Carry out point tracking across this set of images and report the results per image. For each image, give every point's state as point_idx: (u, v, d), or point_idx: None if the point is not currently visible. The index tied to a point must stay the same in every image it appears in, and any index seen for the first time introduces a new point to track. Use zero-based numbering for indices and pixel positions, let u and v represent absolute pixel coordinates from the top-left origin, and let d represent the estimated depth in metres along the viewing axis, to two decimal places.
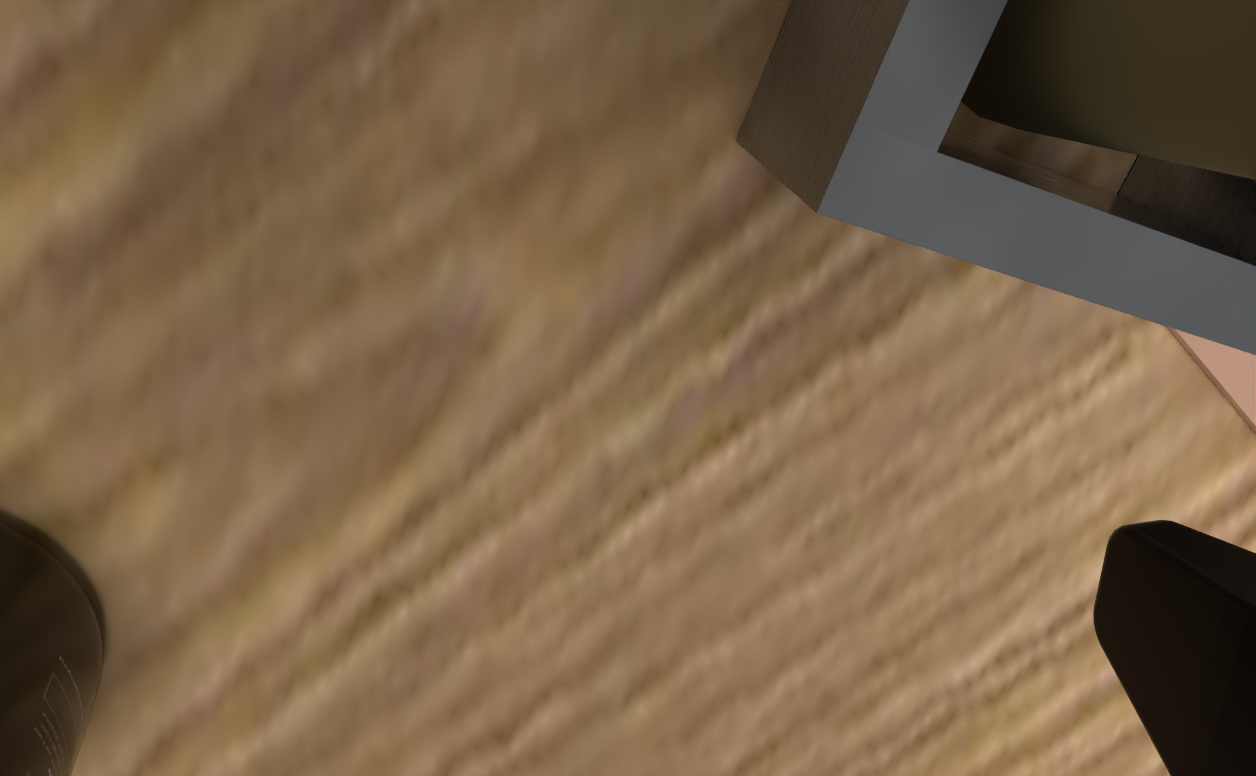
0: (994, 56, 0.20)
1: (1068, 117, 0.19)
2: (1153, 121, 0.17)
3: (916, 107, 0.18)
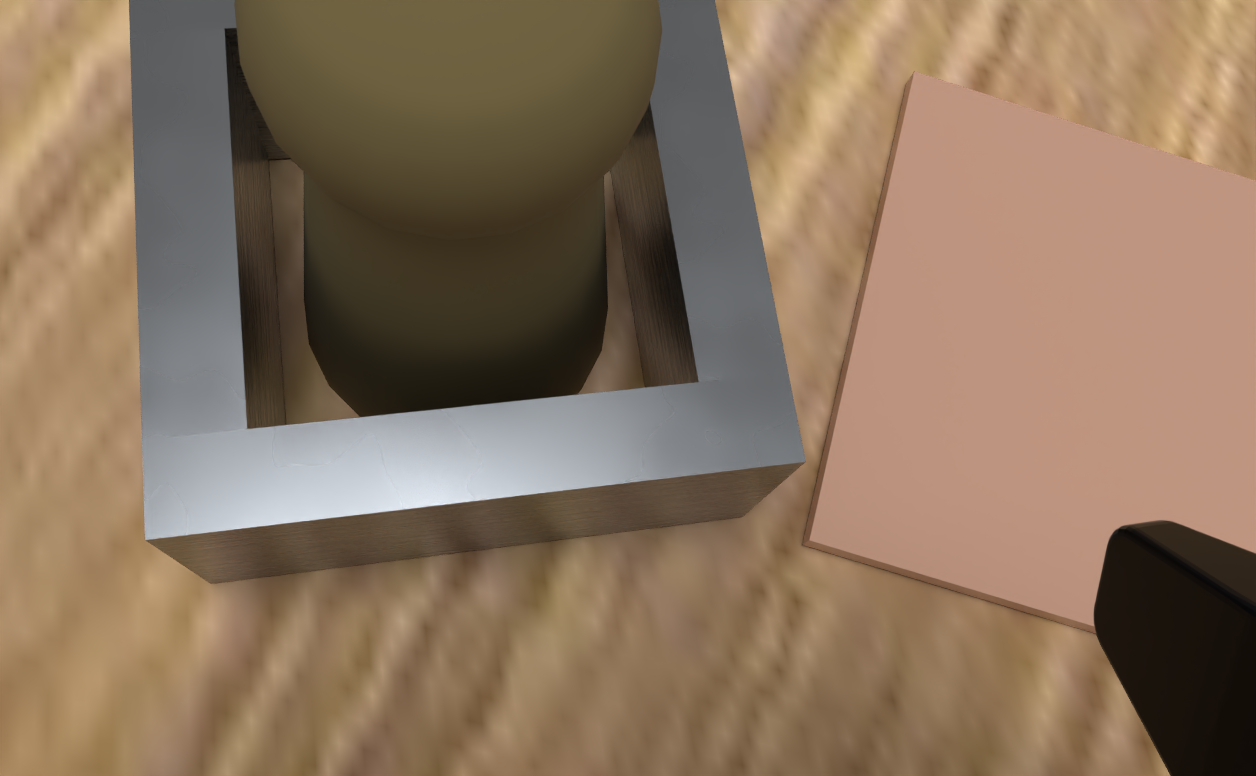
0: (355, 364, 0.20)
1: (412, 358, 0.19)
2: (389, 281, 0.17)
3: (199, 401, 0.17)
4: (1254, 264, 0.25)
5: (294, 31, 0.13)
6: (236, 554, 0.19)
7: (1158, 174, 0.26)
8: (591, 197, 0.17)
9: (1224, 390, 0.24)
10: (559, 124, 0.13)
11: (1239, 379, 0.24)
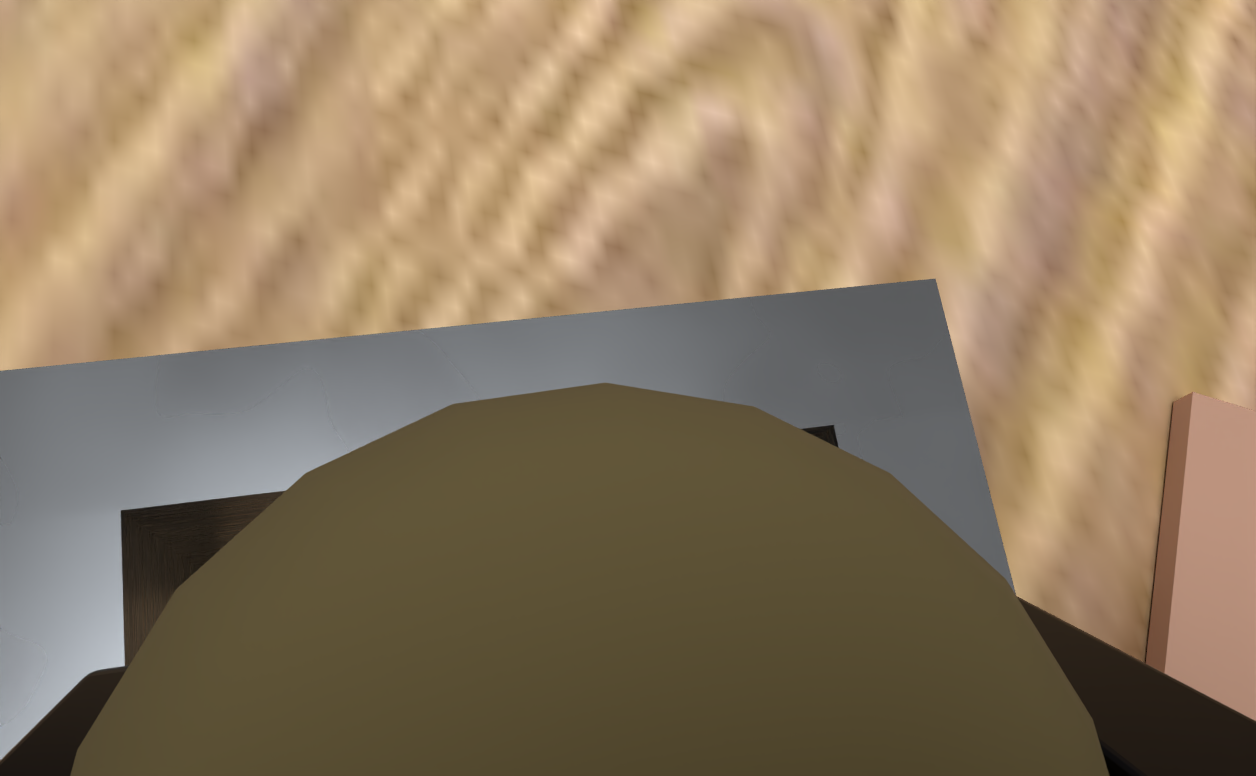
0: None
1: None
2: None
3: None
4: None
5: None
6: None
7: None
8: None
9: None
10: None
11: None
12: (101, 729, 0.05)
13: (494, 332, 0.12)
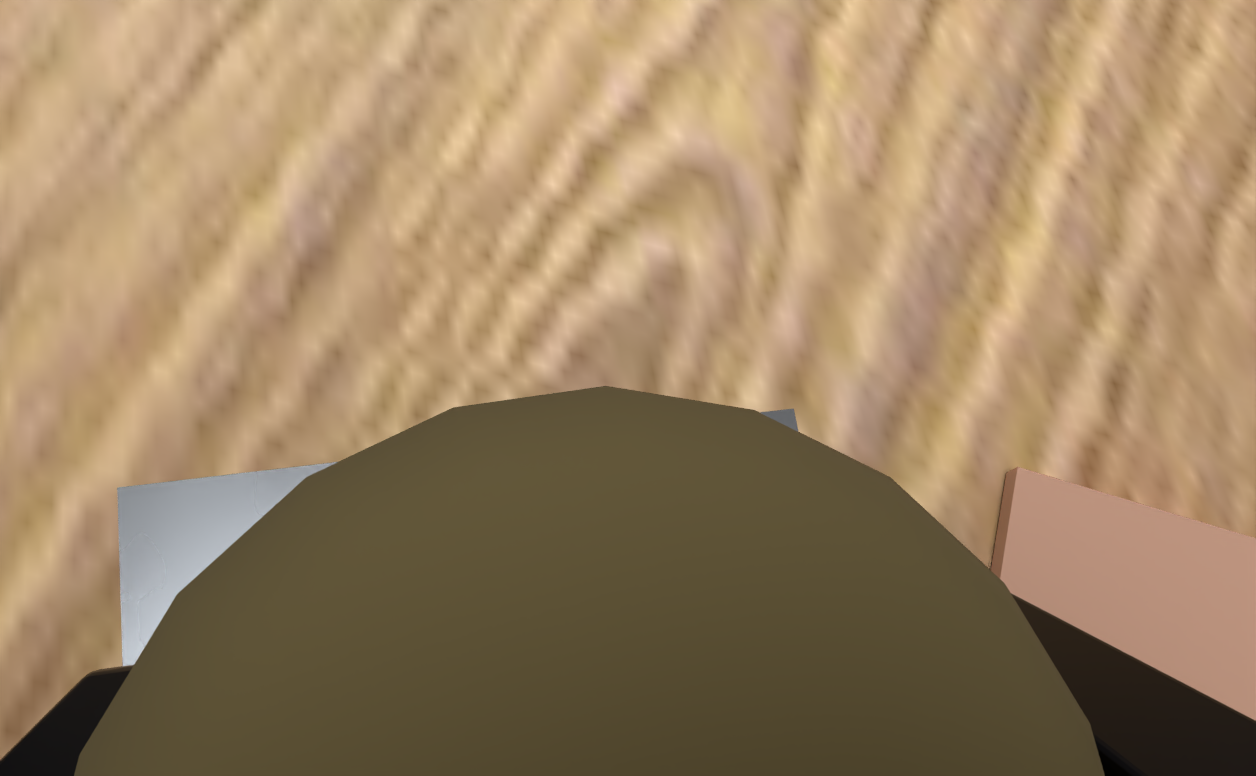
0: None
1: None
2: None
3: None
4: None
5: None
6: None
7: None
8: None
9: None
10: None
11: None
12: (103, 735, 0.05)
13: None
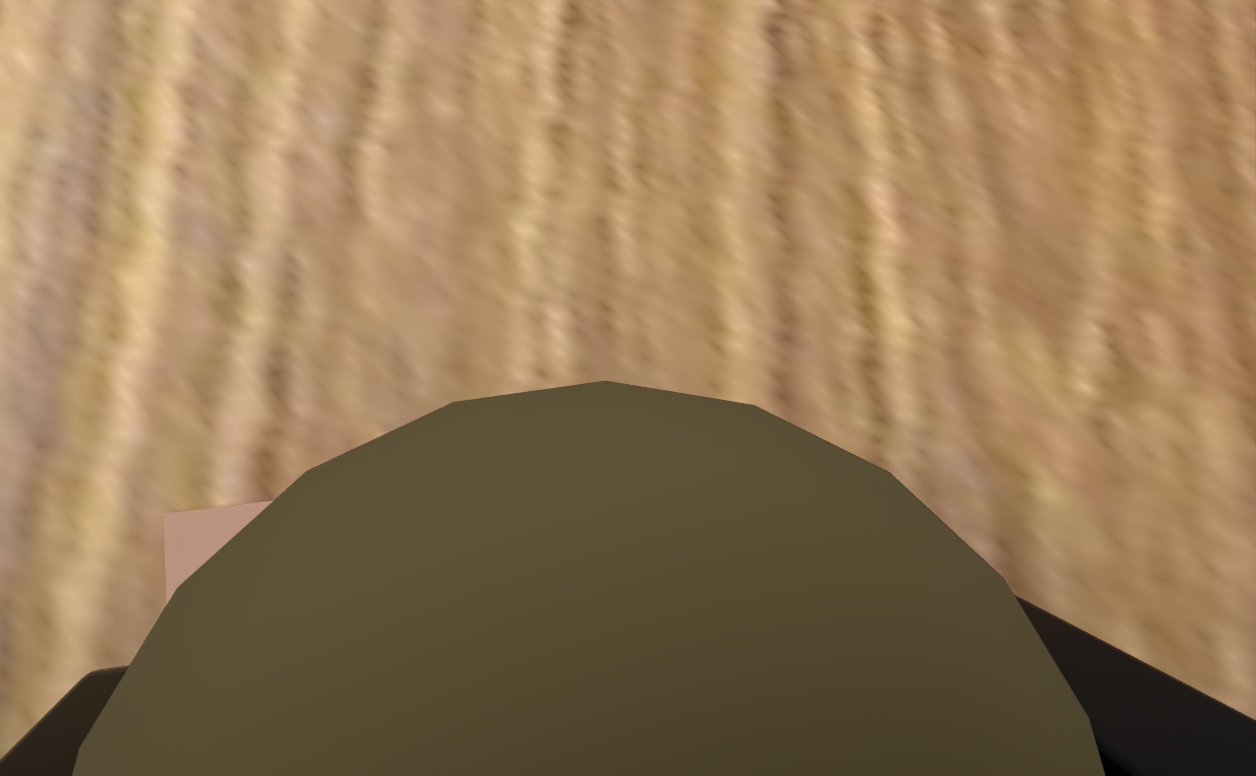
0: None
1: None
2: None
3: None
4: None
5: None
6: None
7: None
8: None
9: None
10: None
11: None
12: (103, 727, 0.05)
13: None
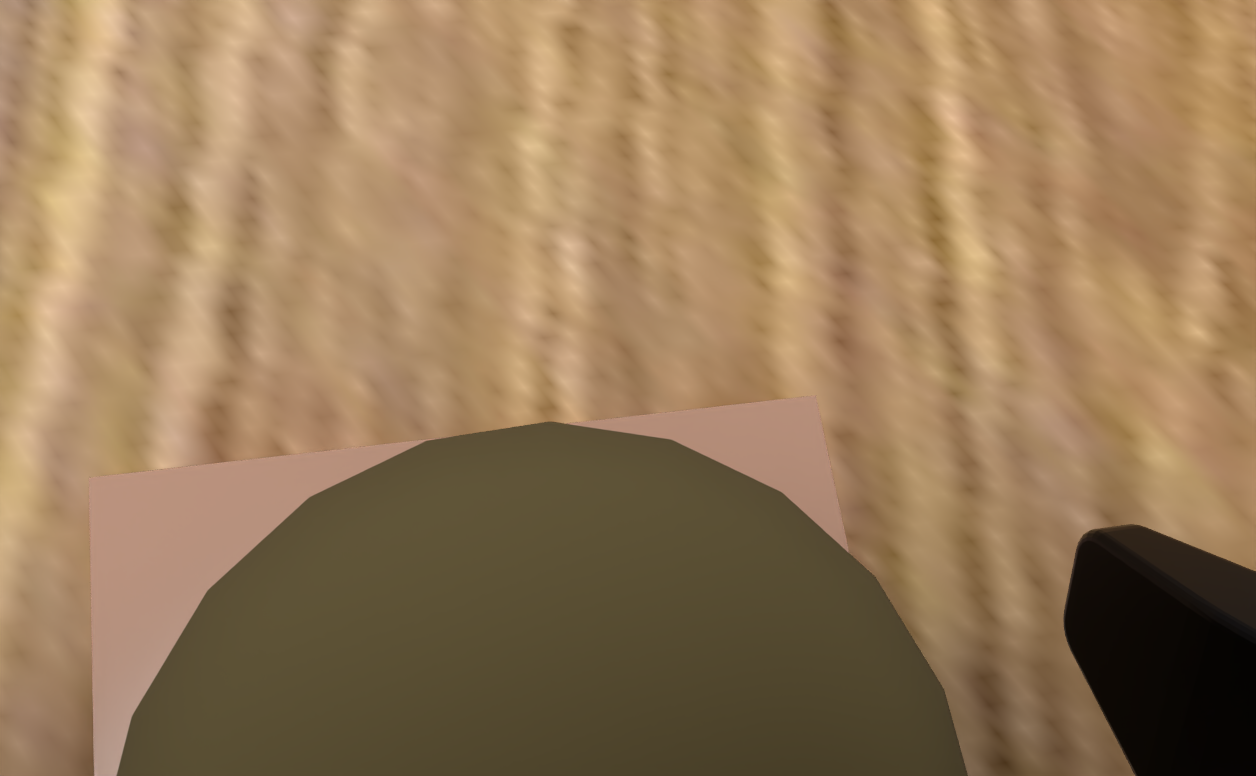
0: None
1: None
2: None
3: None
4: None
5: None
6: None
7: None
8: None
9: None
10: None
11: None
12: (150, 699, 0.06)
13: None
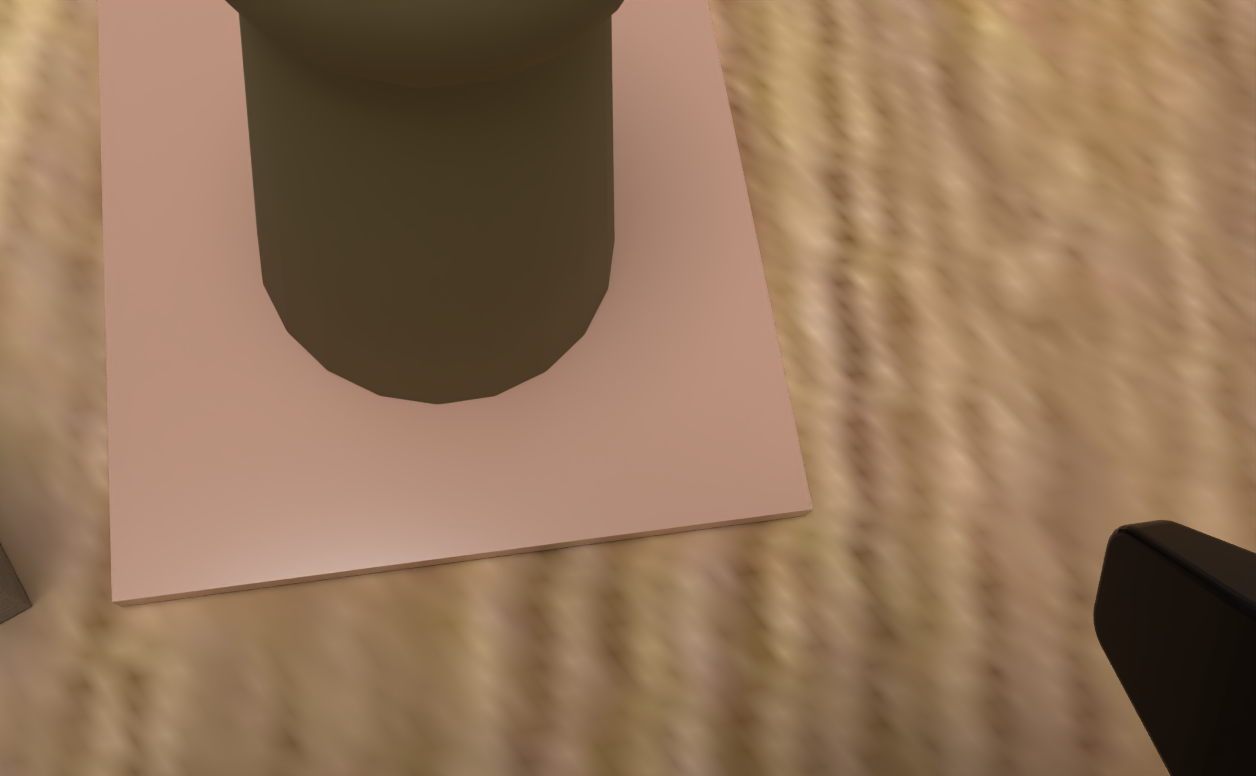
0: (315, 296, 0.17)
1: (381, 281, 0.15)
2: (346, 169, 0.13)
3: None
4: None
5: None
6: None
7: None
8: (598, 63, 0.14)
9: None
10: None
11: None
12: None
13: None
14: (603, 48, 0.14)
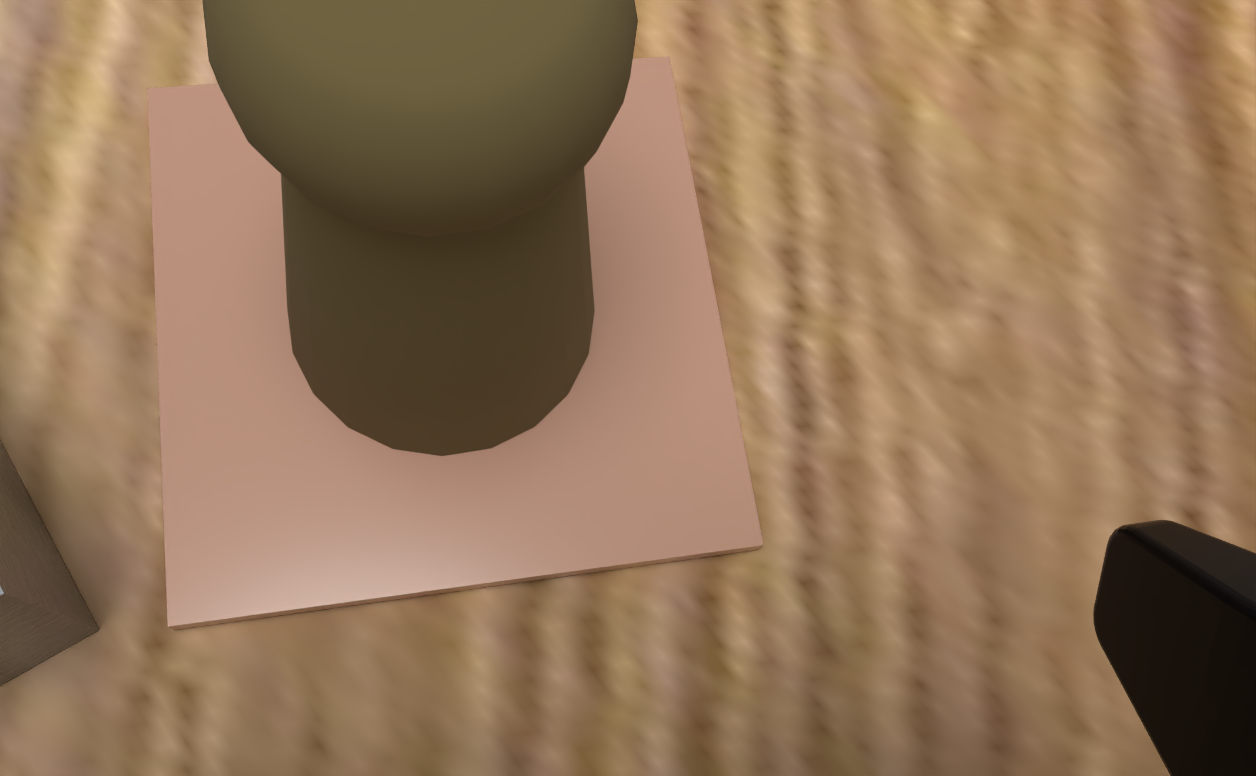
0: (339, 370, 0.20)
1: (395, 363, 0.19)
2: (367, 283, 0.17)
3: None
4: None
5: (260, 23, 0.12)
6: None
7: None
8: (571, 194, 0.17)
9: None
10: (533, 115, 0.13)
11: None
12: None
13: None
14: (575, 182, 0.17)
